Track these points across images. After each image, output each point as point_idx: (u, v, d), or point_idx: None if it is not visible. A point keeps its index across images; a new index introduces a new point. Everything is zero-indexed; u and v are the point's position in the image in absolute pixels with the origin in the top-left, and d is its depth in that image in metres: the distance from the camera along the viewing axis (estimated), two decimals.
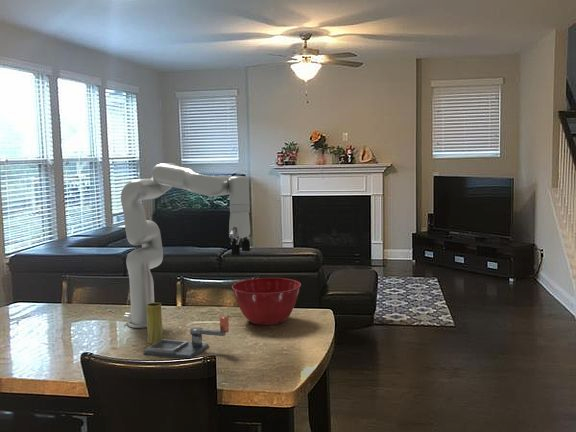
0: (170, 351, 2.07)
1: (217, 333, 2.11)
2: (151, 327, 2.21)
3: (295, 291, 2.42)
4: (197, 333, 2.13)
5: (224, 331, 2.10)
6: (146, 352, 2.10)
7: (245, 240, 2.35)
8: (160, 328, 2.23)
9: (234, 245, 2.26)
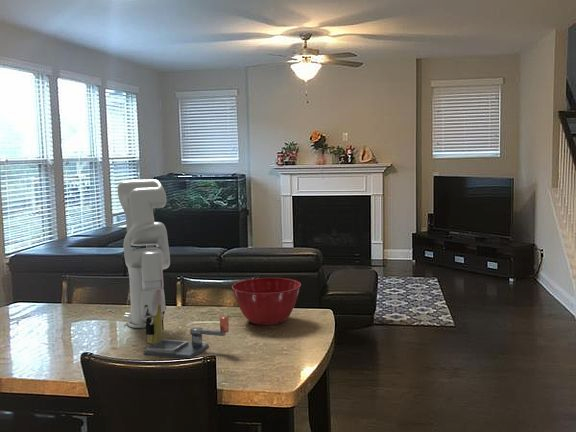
0: (170, 351, 2.07)
1: (217, 333, 2.11)
2: None
3: (295, 291, 2.42)
4: (197, 333, 2.13)
5: (224, 331, 2.10)
6: (146, 352, 2.10)
7: None
8: (160, 328, 2.23)
9: (148, 325, 2.20)
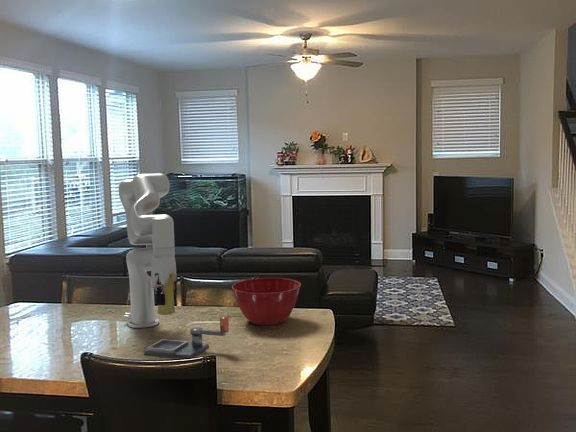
0: (170, 351, 2.07)
1: (217, 333, 2.11)
2: None
3: (295, 291, 2.42)
4: (197, 333, 2.13)
5: (224, 331, 2.10)
6: (146, 352, 2.10)
7: None
8: (171, 298, 2.11)
9: (159, 294, 2.08)
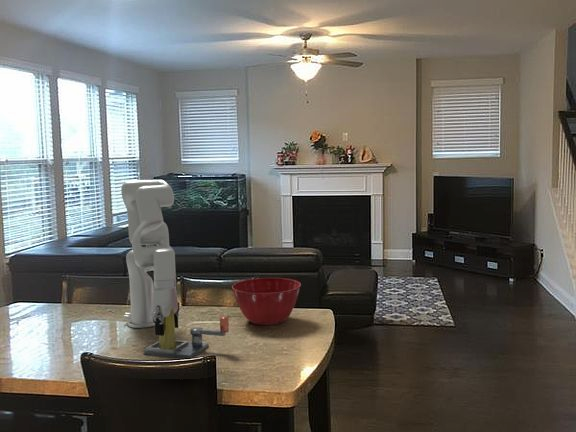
0: (170, 351, 2.07)
1: (217, 333, 2.11)
2: None
3: (295, 291, 2.42)
4: (197, 333, 2.13)
5: (224, 331, 2.10)
6: (146, 352, 2.10)
7: None
8: (173, 333, 2.12)
9: (157, 325, 2.07)
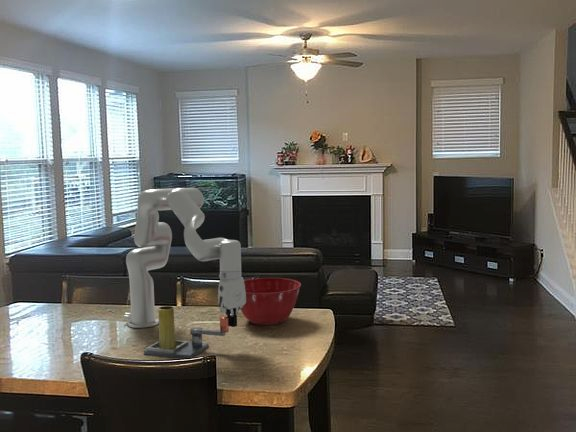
0: (170, 351, 2.07)
1: (217, 333, 2.11)
2: (163, 332, 2.10)
3: (295, 291, 2.42)
4: (197, 333, 2.13)
5: (224, 331, 2.10)
6: (146, 352, 2.10)
7: None
8: (173, 333, 2.12)
9: None
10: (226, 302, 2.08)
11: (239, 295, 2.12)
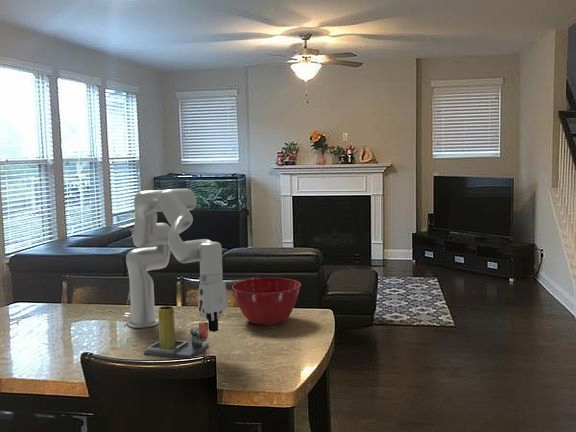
0: (170, 351, 2.07)
1: (199, 337, 2.06)
2: (163, 332, 2.11)
3: (295, 291, 2.42)
4: (192, 333, 2.13)
5: (200, 337, 2.03)
6: (146, 352, 2.10)
7: None
8: (173, 333, 2.12)
9: None
10: (206, 306, 2.01)
11: (220, 299, 2.05)
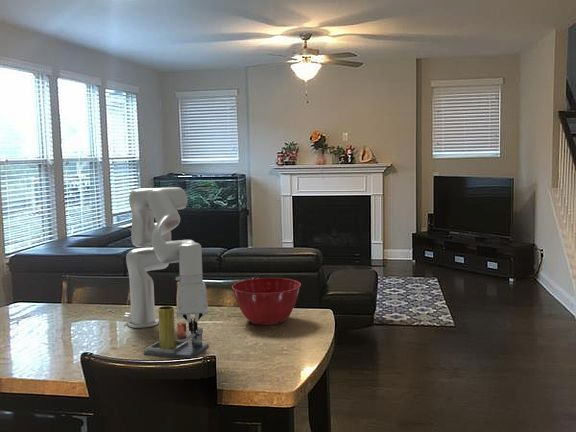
0: (170, 351, 2.07)
1: None
2: (163, 332, 2.10)
3: (295, 291, 2.42)
4: None
5: None
6: (146, 352, 2.10)
7: None
8: (173, 333, 2.12)
9: (197, 321, 2.04)
10: (177, 306, 2.00)
11: (196, 301, 2.01)
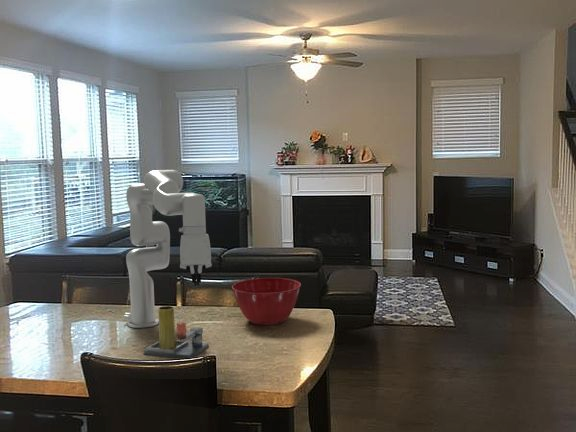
0: (170, 351, 2.07)
1: None
2: (163, 332, 2.10)
3: (295, 291, 2.42)
4: None
5: (177, 337, 2.04)
6: (146, 352, 2.10)
7: None
8: (173, 333, 2.12)
9: (200, 273, 2.04)
10: (180, 257, 2.00)
11: (199, 253, 2.00)
